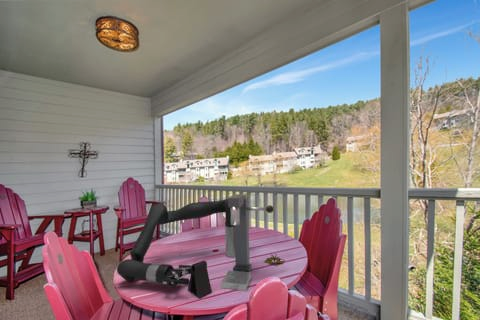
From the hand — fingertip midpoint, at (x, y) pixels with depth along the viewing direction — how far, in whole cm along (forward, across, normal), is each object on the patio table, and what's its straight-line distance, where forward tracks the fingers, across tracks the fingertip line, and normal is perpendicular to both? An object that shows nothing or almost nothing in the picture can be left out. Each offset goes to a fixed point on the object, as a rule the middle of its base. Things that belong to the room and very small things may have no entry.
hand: (193, 276), depth 92 cm
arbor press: (+21, -15, -6) cm, 27 cm away
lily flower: (+30, -36, -7) cm, 48 cm away
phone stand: (+2, 0, -6) cm, 7 cm away
